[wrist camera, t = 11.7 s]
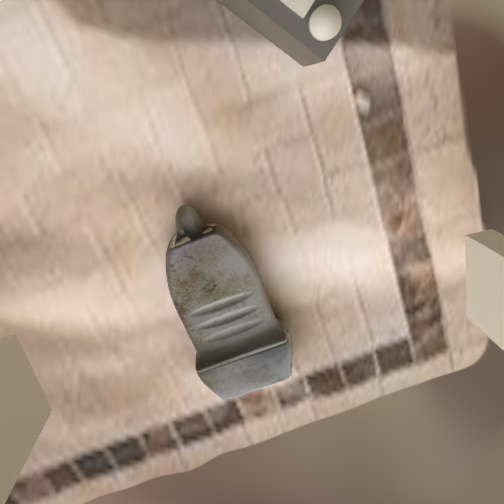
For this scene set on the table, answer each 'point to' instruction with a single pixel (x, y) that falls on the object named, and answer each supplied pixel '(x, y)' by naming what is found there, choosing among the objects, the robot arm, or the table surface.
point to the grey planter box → (298, 24)
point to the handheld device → (225, 309)
